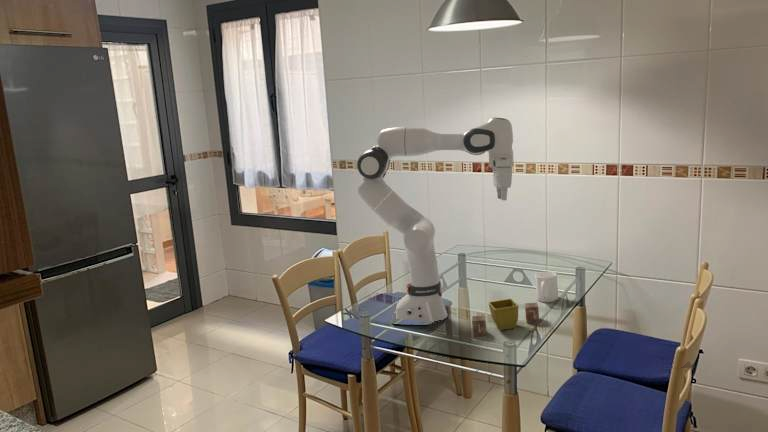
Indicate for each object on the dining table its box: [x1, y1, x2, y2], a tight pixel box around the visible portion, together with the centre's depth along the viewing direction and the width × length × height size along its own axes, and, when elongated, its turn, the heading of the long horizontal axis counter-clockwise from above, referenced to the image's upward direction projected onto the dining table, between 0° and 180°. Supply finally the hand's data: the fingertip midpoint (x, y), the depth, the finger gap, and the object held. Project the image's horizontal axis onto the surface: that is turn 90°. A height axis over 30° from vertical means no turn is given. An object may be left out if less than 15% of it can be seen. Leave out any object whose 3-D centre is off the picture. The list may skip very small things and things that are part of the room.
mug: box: [534, 271, 559, 303], centre depth 231 cm, size 12×8×10 cm
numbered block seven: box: [524, 302, 540, 324], centre depth 213 cm, size 4×5×6 cm
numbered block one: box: [471, 315, 488, 338], centre depth 207 cm, size 4×5×6 cm
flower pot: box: [488, 298, 519, 331], centre depth 210 cm, size 9×9×9 cm
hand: (502, 199), depth 216 cm, fingers open, 8 cm apart
